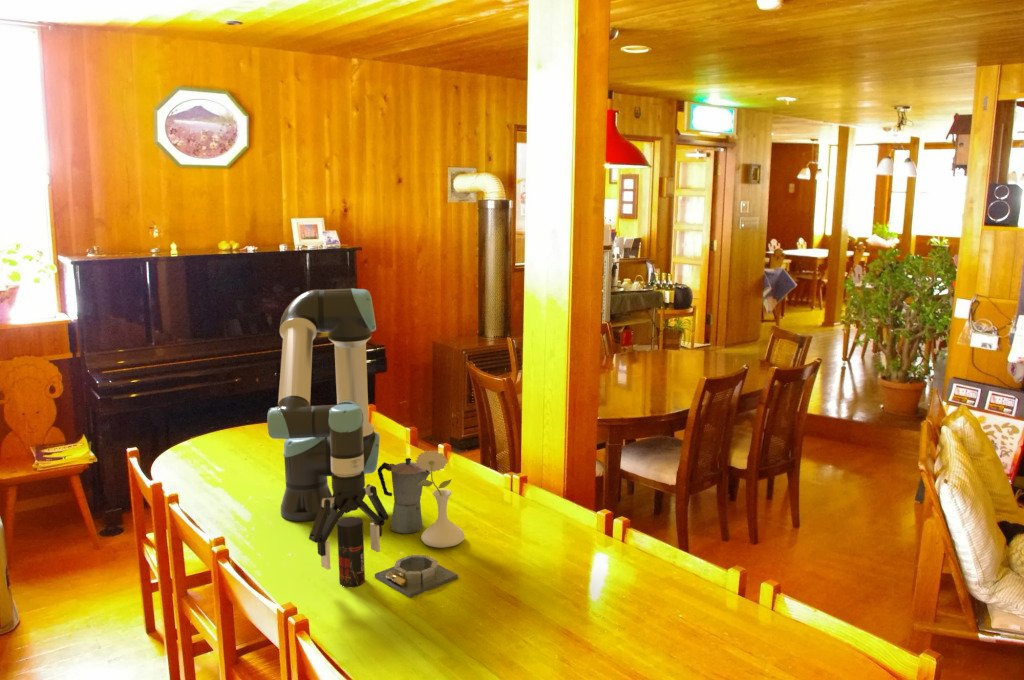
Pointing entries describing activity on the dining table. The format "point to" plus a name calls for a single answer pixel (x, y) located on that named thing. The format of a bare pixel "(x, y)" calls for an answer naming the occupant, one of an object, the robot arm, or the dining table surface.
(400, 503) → the moka pot
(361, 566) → the deodorant
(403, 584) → the socket mount
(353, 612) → the dining table surface
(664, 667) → the dining table surface
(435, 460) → the flower in vase
